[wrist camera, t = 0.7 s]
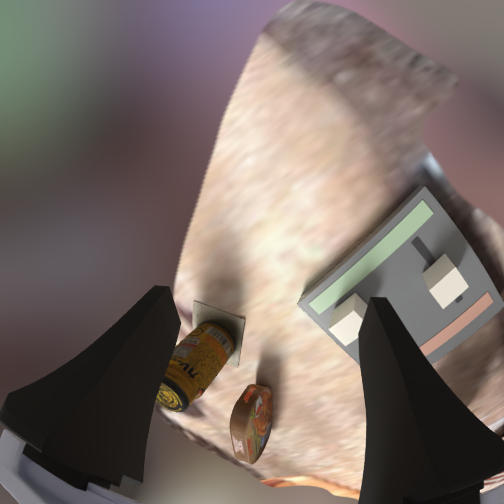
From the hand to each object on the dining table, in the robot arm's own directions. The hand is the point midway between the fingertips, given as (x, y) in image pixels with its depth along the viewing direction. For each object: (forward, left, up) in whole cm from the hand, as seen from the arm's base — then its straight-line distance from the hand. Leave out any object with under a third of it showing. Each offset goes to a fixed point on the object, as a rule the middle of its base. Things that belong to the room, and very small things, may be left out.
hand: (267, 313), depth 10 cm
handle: (-8, +4, -17) cm, 19 cm away
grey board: (-12, 0, -19) cm, 23 cm away
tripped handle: (-11, -5, -17) cm, 21 cm away
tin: (-14, +26, -19) cm, 36 cm away
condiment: (-1, +21, -19) cm, 29 cm away
